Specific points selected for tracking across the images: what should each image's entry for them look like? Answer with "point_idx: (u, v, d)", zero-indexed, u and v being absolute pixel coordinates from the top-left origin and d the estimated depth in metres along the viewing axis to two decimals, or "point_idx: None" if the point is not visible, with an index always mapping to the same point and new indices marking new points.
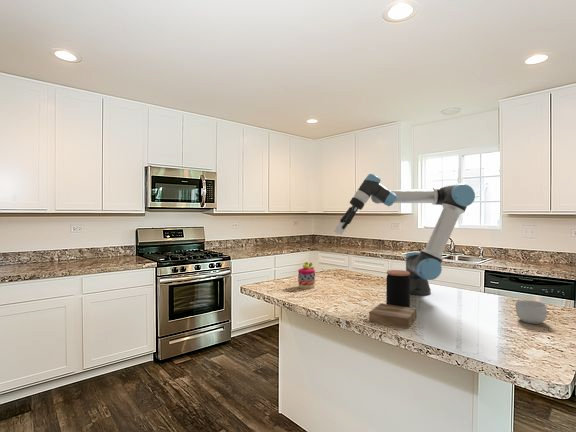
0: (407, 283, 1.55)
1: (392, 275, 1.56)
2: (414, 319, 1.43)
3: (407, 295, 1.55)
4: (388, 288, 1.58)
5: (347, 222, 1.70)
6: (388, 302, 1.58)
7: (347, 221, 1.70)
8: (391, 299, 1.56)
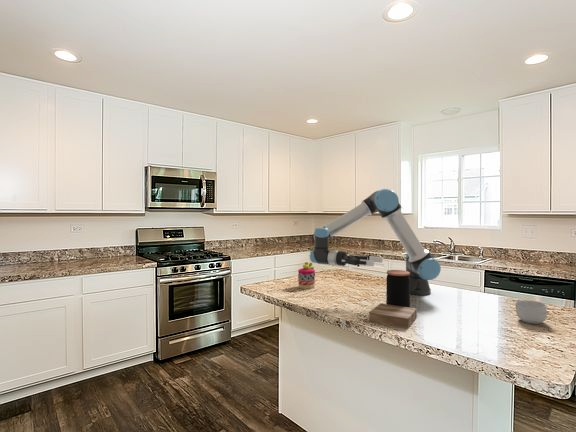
0: (407, 283, 1.55)
1: (392, 275, 1.56)
2: (414, 319, 1.43)
3: (407, 295, 1.55)
4: (388, 288, 1.58)
5: (356, 262, 1.60)
6: (388, 302, 1.58)
7: (355, 263, 1.60)
8: (391, 299, 1.56)
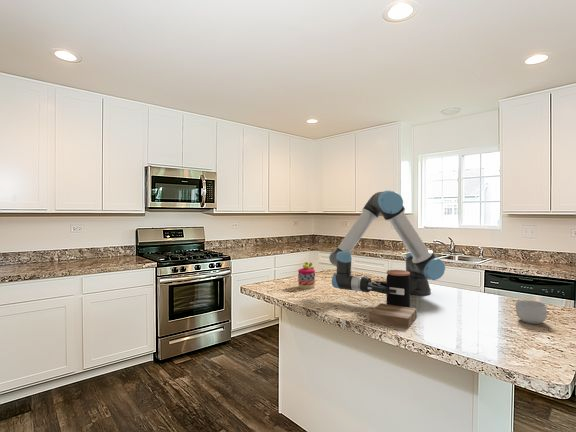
0: (407, 283, 1.55)
1: (392, 275, 1.56)
2: (414, 319, 1.43)
3: (407, 295, 1.55)
4: None
5: (386, 291, 1.54)
6: (388, 302, 1.58)
7: (385, 292, 1.53)
8: (391, 299, 1.56)
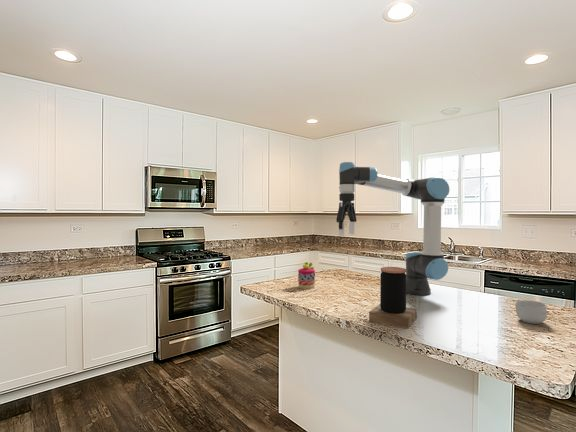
0: (403, 281, 1.40)
1: (386, 272, 1.41)
2: (414, 319, 1.43)
3: (403, 294, 1.40)
4: (382, 287, 1.43)
5: (339, 221, 1.61)
6: (382, 302, 1.43)
7: (338, 220, 1.61)
8: (386, 299, 1.41)
